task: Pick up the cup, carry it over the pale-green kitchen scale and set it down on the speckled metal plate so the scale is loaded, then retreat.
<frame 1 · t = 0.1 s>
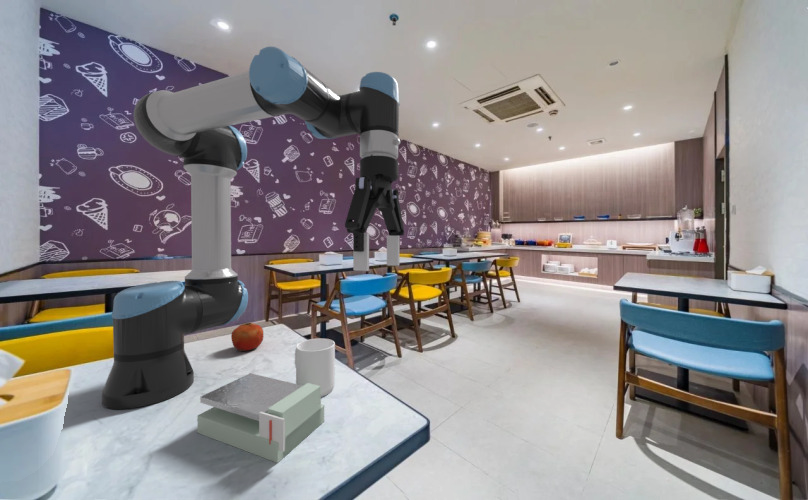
hand: (378, 268, 57), 28 cm above the table, fingers open, 13 cm apart
speckled metal plate: (254, 399, 52), point 4 cm above the table, slide at -0.3 cm, touching scale base
scale base: (263, 426, 52), on the table
tomato: (248, 349, 90), on the table
cup: (310, 387, 66), on the table
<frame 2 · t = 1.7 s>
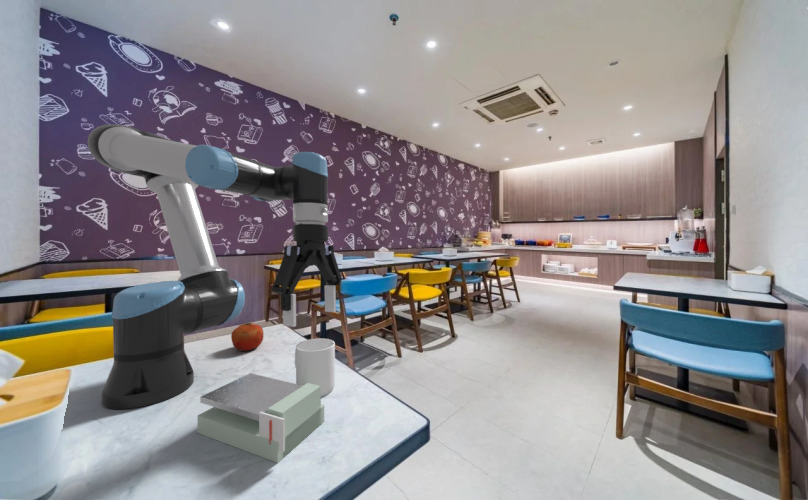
hand: (311, 318, 66), 16 cm above the table, fingers open, 13 cm apart
nothing on the table moved.
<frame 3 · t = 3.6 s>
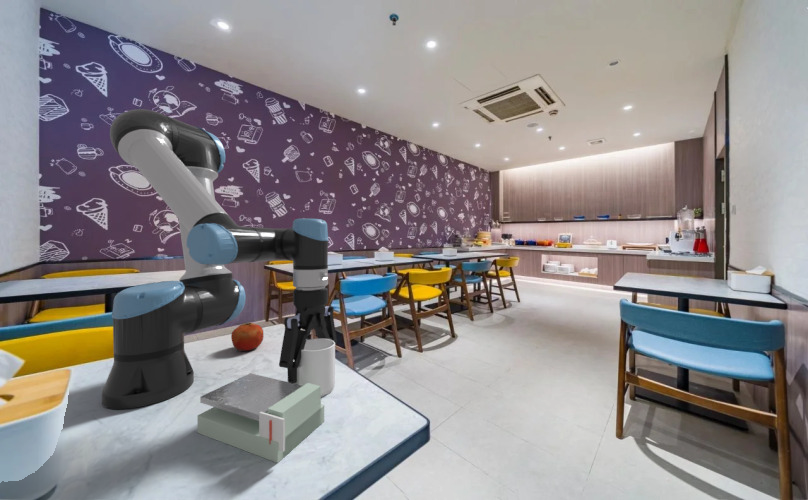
hand: (311, 385, 66), 0 cm above the table, fingers open, 9 cm apart
cup: (310, 387, 66), on the table, touching gripper
everything else where it was.
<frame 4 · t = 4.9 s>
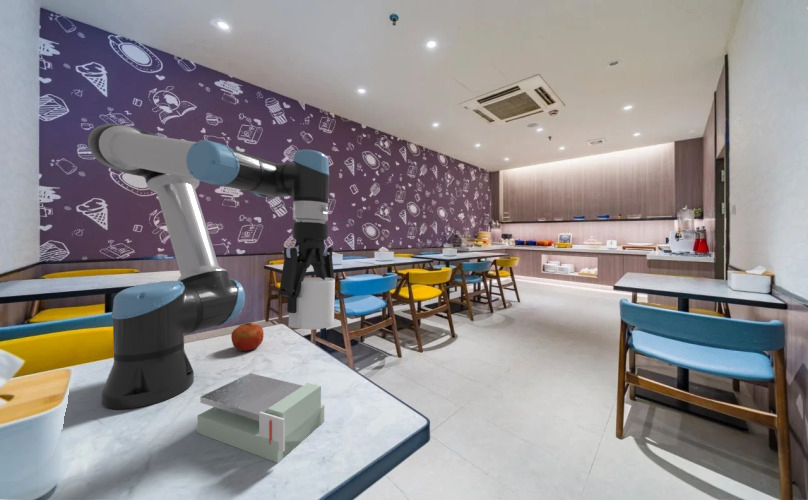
hand: (309, 322, 66), 15 cm above the table, fingers closed on cup, 8 cm apart
cup: (309, 323, 67), point 14 cm above the table, touching gripper
everything else where it was.
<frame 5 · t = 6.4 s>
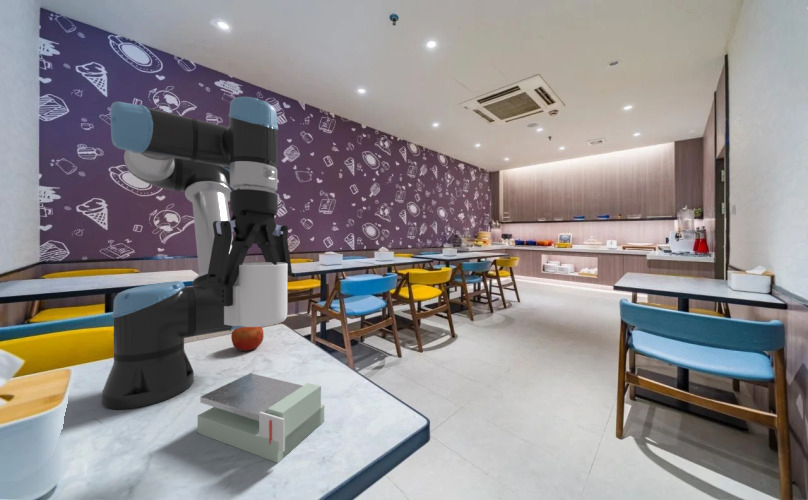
hand: (255, 318, 52), 19 cm above the table, fingers closed on cup, 8 cm apart
cup: (256, 320, 53), point 19 cm above the table, touching gripper
everything else where it was.
when the fingers open (8 cm above the table, at t = 8.8 s): cup drops 2 cm, resting on speckled metal plate.
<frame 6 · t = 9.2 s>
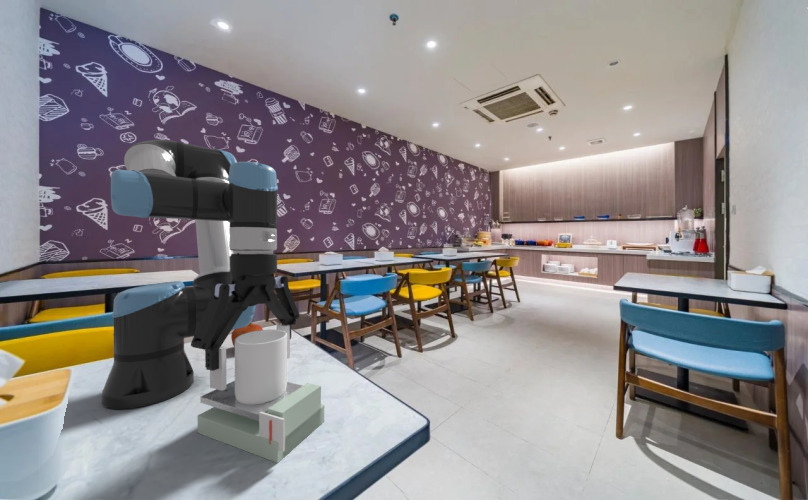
hand: (254, 371, 52), 10 cm above the table, fingers open, 13 cm apart
speckled metal plate: (254, 399, 52), point 4 cm above the table, slide at -0.3 cm, touching cup, scale base
cup: (256, 391, 53), point 6 cm above the table, touching speckled metal plate
everything else where it was.
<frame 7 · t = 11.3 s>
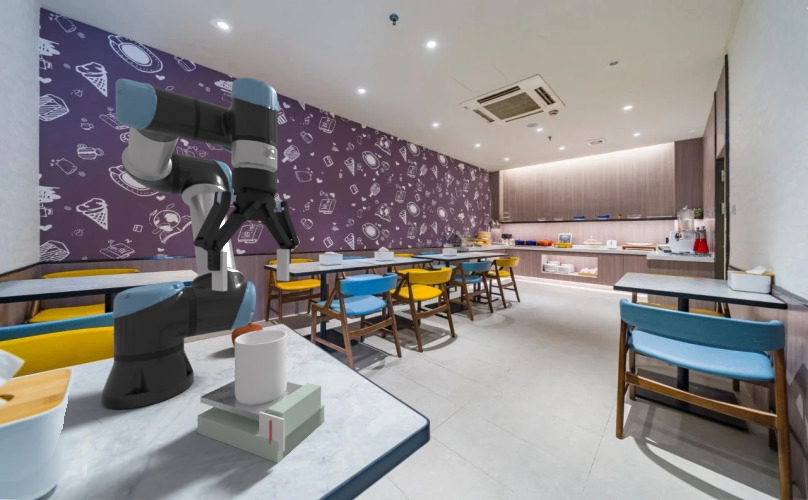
hand: (254, 285, 55), 25 cm above the table, fingers open, 13 cm apart
nothing on the table moved.
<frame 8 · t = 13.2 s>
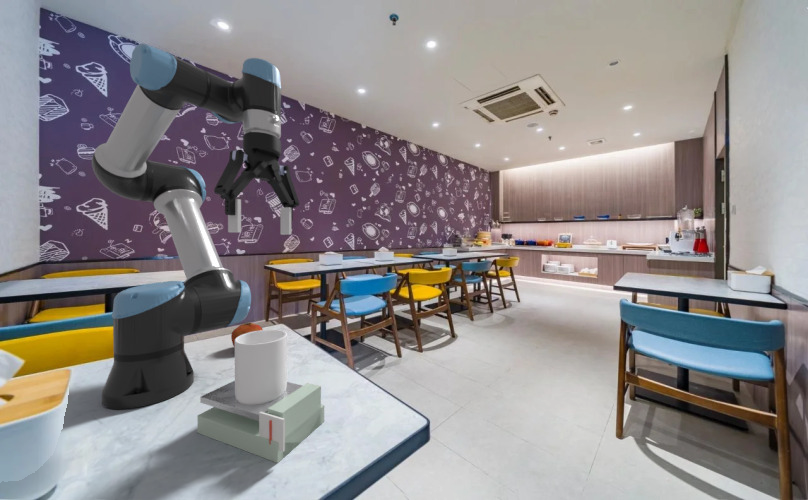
hand: (262, 233, 64), 35 cm above the table, fingers open, 13 cm apart
nothing on the table moved.
at the end: cup inside the target area on the speckled metal plate (0.5 cm from its centre), point 6.1 cm above the speckled metal plate's base; cup touching speckled metal plate; cup tilted 0° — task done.
